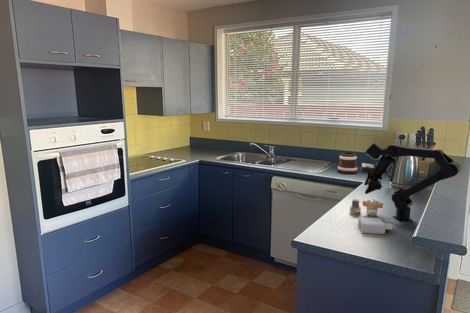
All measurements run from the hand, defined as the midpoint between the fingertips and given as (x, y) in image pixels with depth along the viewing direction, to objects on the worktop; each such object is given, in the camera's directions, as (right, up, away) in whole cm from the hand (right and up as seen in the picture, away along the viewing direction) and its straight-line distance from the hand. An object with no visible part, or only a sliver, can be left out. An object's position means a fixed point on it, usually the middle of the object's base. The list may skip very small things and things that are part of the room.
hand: (365, 189), depth 176 cm
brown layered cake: (+22, +5, +95) cm, 97 cm away
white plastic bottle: (-4, -16, -25) cm, 30 cm away
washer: (+1, -8, -7) cm, 10 cm away
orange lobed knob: (+1, -13, -6) cm, 14 cm away
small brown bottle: (-6, -12, -3) cm, 14 cm away
